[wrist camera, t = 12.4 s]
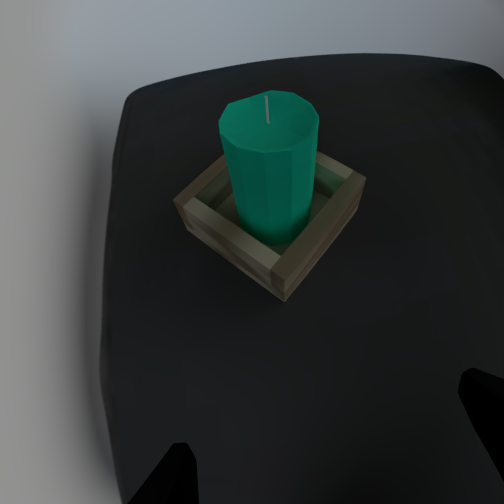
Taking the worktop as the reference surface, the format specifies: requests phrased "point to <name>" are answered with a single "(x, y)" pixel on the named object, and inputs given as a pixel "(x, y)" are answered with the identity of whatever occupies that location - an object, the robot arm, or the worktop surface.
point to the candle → (271, 163)
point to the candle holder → (250, 249)
